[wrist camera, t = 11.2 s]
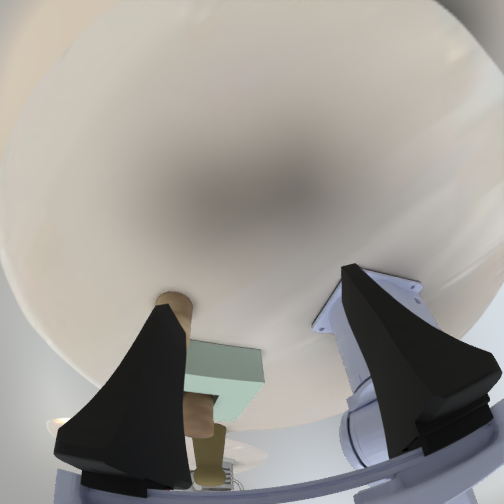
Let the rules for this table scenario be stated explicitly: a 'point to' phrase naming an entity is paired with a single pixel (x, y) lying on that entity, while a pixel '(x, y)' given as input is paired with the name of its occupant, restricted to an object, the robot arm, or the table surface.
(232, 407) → the collar block
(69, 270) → the table surface
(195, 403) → the long pin
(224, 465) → the french press
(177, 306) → the short pin
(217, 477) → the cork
